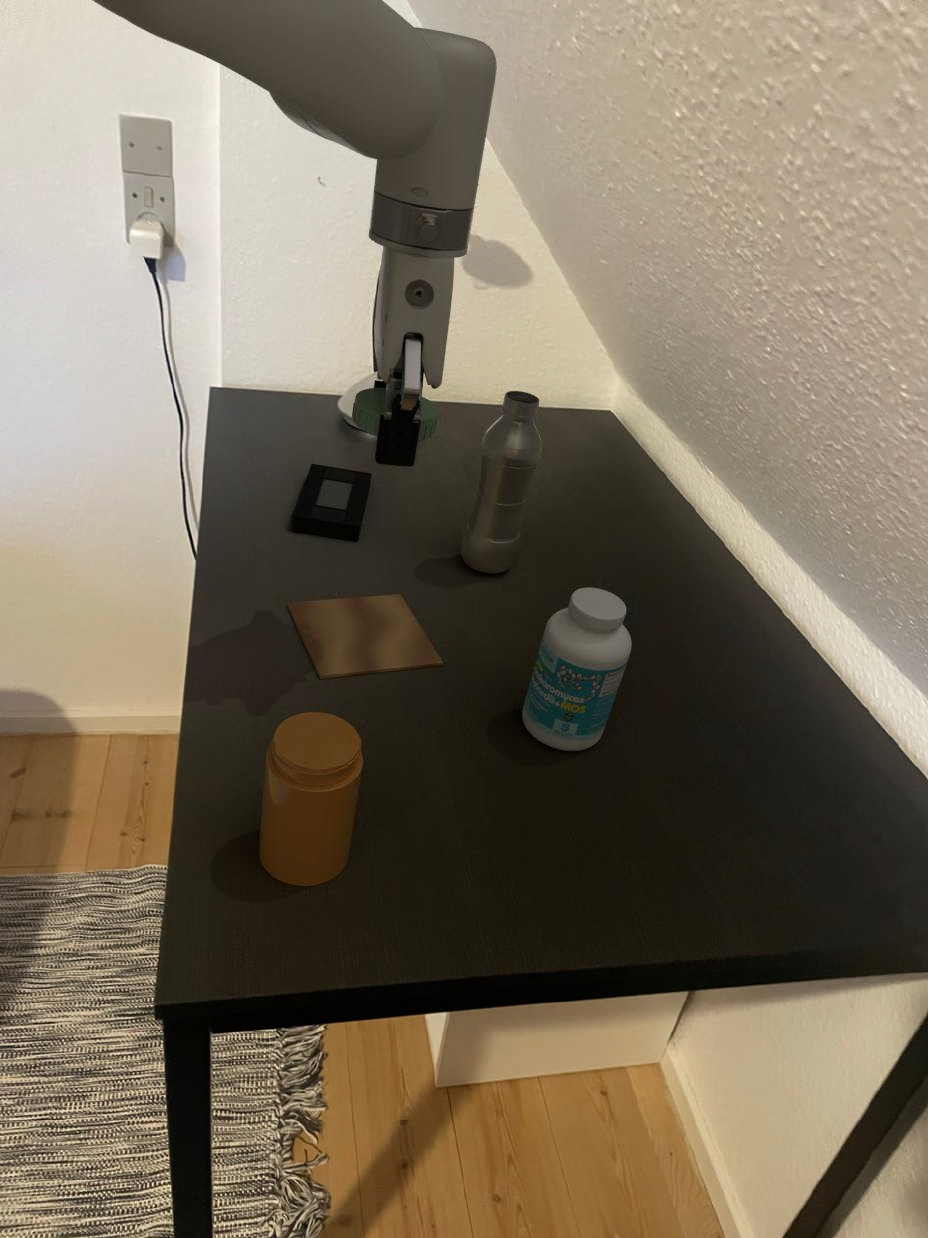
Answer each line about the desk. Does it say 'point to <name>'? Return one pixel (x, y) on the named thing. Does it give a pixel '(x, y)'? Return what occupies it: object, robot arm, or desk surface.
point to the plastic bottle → (503, 485)
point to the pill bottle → (578, 671)
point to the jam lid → (373, 405)
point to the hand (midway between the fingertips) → (390, 443)
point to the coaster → (362, 635)
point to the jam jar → (310, 798)
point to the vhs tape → (332, 502)
